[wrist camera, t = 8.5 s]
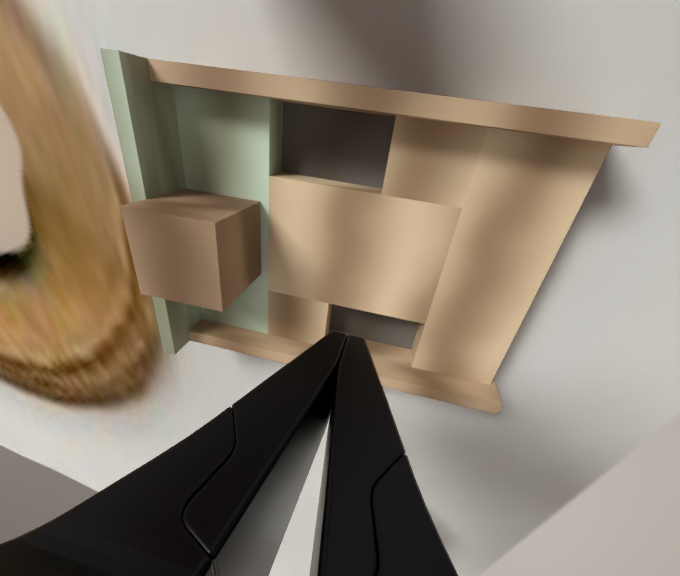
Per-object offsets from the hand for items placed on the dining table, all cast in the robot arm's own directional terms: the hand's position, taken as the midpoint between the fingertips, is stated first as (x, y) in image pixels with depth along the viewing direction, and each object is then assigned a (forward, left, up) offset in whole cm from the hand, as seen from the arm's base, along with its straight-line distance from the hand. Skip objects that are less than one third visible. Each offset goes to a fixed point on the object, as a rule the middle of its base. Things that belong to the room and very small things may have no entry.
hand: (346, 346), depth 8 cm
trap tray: (+1, +1, -12) cm, 12 cm away
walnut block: (+9, +2, -10) cm, 13 cm away
